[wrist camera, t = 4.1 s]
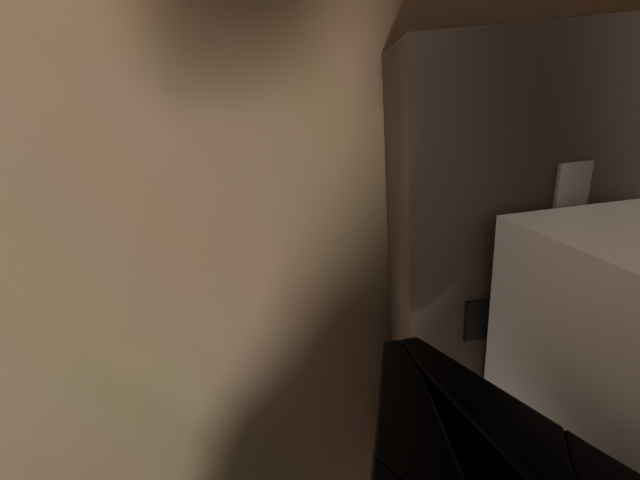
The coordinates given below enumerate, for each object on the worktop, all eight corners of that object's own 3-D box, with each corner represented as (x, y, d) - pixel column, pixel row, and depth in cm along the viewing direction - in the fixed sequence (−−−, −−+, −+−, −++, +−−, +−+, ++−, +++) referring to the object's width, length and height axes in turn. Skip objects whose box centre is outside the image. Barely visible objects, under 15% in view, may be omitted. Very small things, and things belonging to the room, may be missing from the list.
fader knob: (481, 413, 10) (606, 602, 6) (497, 213, 8) (703, 297, 4) (610, 395, 10) (817, 567, 6) (658, 194, 8) (1012, 256, 4)
